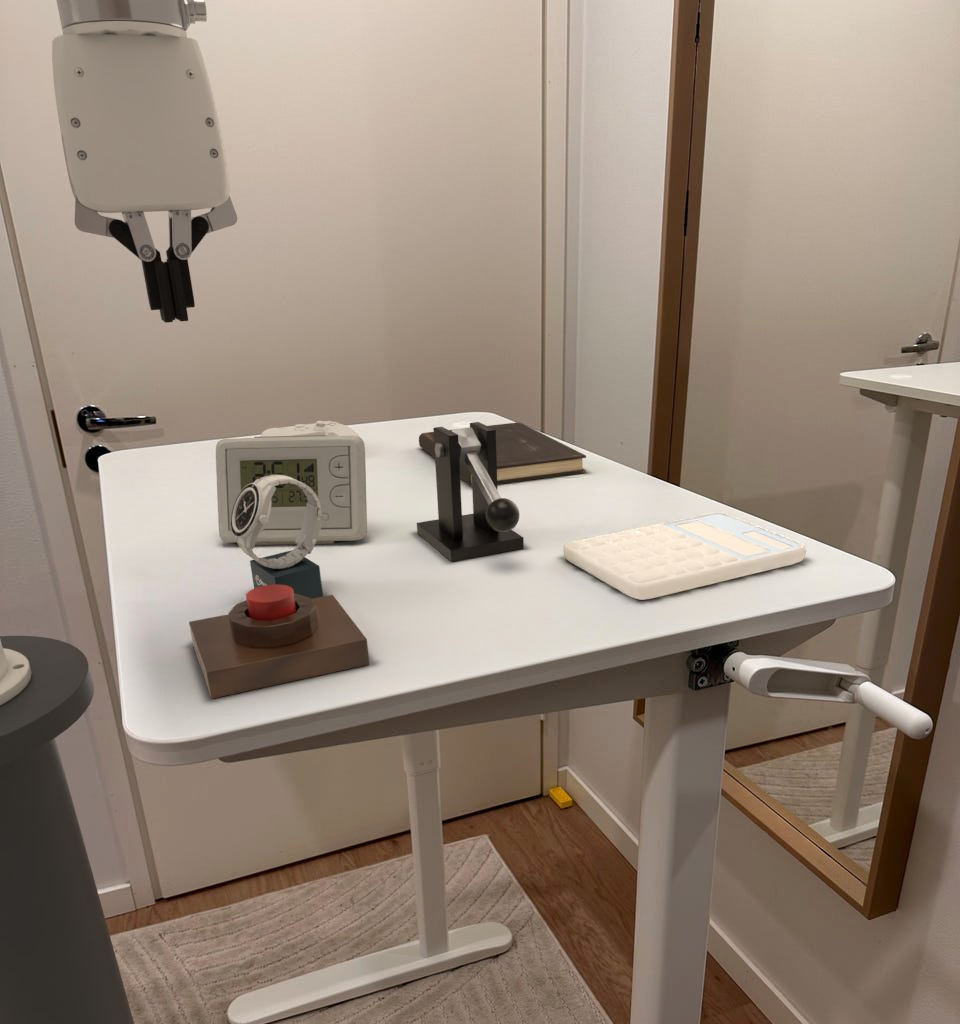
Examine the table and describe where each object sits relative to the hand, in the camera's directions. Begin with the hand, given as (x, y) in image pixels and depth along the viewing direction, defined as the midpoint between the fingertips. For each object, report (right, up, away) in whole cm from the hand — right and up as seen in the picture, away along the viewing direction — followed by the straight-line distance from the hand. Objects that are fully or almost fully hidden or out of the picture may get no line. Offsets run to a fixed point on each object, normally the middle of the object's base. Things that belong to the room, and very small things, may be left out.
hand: (174, 319), depth 65 cm
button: (+6, -21, +5) cm, 23 cm away
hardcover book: (+24, +2, +60) cm, 65 cm away
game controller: (-3, +4, +67) cm, 67 cm away
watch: (+4, -19, +18) cm, 27 cm away
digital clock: (+2, -12, +33) cm, 35 cm away
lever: (+22, -9, +24) cm, 34 cm away
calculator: (+42, -16, +23) cm, 50 cm away
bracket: (+21, -13, +30) cm, 39 cm away
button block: (+6, -24, +7) cm, 26 cm away
